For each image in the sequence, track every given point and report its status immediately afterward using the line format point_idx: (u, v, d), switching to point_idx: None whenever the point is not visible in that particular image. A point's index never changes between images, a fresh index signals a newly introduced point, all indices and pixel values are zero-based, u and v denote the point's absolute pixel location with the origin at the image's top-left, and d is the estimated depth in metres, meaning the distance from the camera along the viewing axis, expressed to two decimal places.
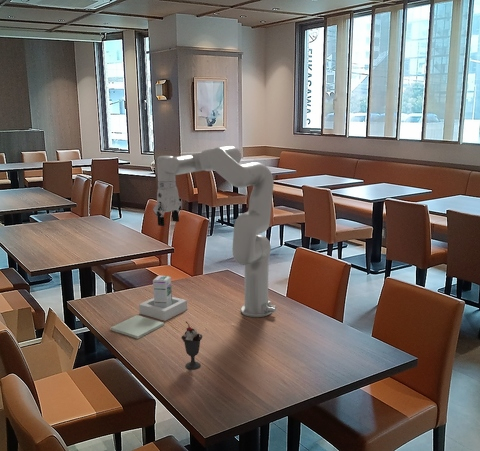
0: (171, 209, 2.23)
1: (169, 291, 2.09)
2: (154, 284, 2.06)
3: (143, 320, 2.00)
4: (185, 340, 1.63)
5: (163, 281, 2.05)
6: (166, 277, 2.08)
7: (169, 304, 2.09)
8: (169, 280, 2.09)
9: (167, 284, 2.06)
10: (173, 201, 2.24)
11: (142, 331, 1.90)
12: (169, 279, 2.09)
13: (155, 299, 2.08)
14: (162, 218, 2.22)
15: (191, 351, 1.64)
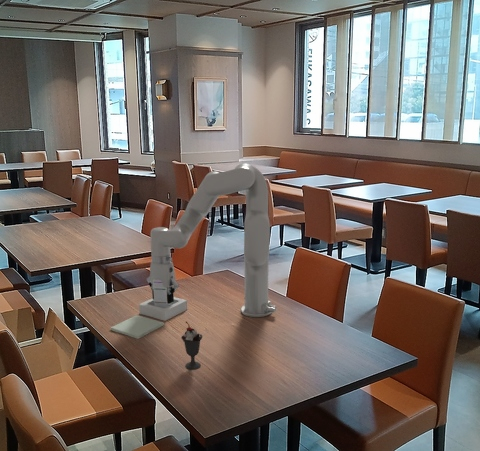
0: None
1: None
2: (154, 284, 2.06)
3: (143, 320, 2.00)
4: (185, 340, 1.63)
5: None
6: None
7: (169, 304, 2.09)
8: None
9: None
10: None
11: (142, 331, 1.90)
12: None
13: (155, 299, 2.08)
14: (172, 293, 2.08)
15: (191, 351, 1.64)
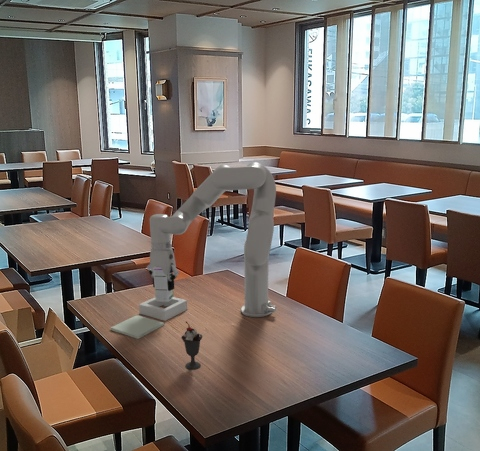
0: None
1: None
2: (154, 271, 2.05)
3: (143, 320, 2.00)
4: (185, 340, 1.63)
5: None
6: None
7: (170, 291, 2.08)
8: None
9: None
10: None
11: (142, 331, 1.90)
12: None
13: (156, 286, 2.06)
14: None
15: (191, 351, 1.64)
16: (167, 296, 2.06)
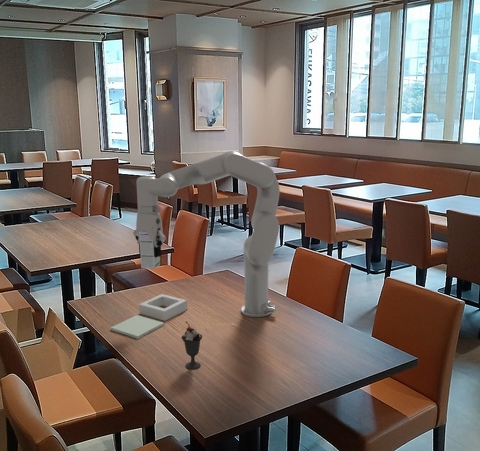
0: None
1: None
2: (140, 236, 1.95)
3: (143, 320, 2.00)
4: (185, 340, 1.63)
5: None
6: None
7: (156, 258, 1.98)
8: None
9: None
10: None
11: (142, 331, 1.90)
12: None
13: (141, 252, 1.97)
14: None
15: (191, 351, 1.64)
16: (153, 263, 1.97)
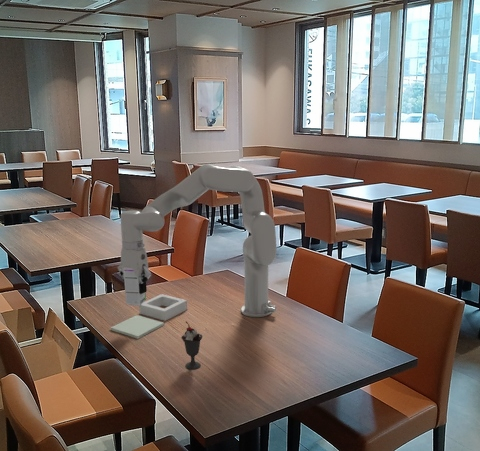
0: None
1: None
2: (125, 272, 1.89)
3: (143, 320, 2.00)
4: (185, 340, 1.63)
5: None
6: None
7: (142, 294, 1.92)
8: None
9: None
10: None
11: (142, 331, 1.90)
12: None
13: (126, 289, 1.90)
14: None
15: (191, 351, 1.64)
16: (138, 299, 1.90)
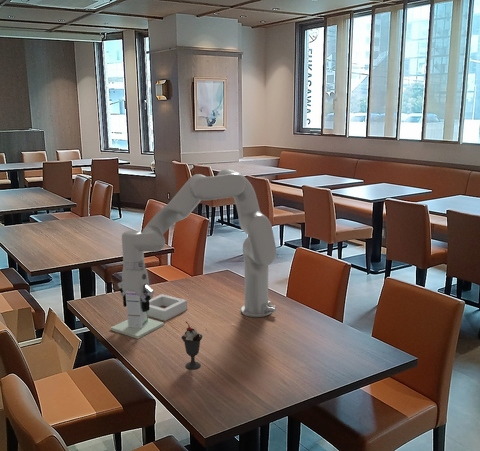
0: None
1: None
2: (127, 296, 1.91)
3: None
4: (185, 340, 1.63)
5: None
6: None
7: (143, 317, 1.94)
8: None
9: None
10: None
11: (142, 331, 1.90)
12: None
13: (128, 312, 1.93)
14: None
15: (191, 351, 1.64)
16: (140, 322, 1.93)
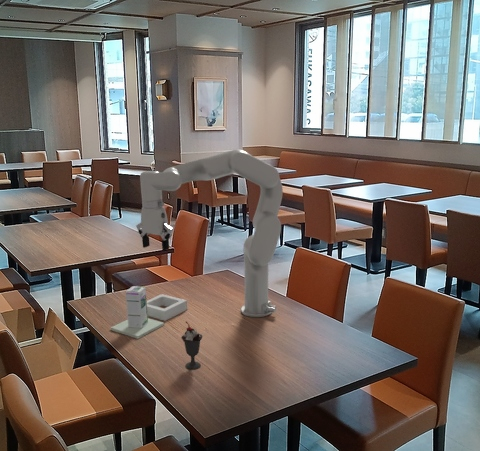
0: None
1: (144, 303, 1.94)
2: (127, 296, 1.91)
3: None
4: (185, 340, 1.63)
5: (136, 292, 1.90)
6: (141, 288, 1.93)
7: (143, 317, 1.94)
8: (143, 291, 1.94)
9: (141, 296, 1.91)
10: None
11: (142, 331, 1.90)
12: (143, 290, 1.94)
13: (128, 312, 1.93)
14: None
15: (191, 351, 1.64)
16: (140, 322, 1.93)
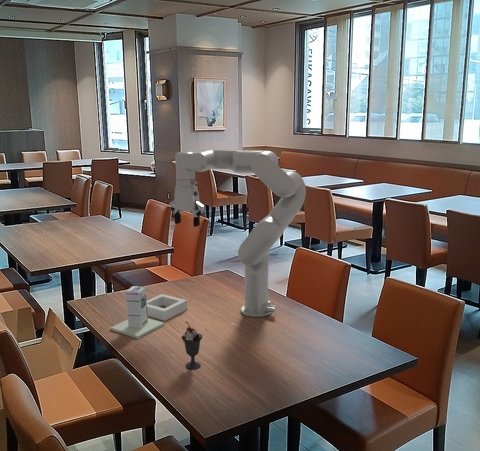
0: None
1: (144, 303, 1.94)
2: (127, 296, 1.91)
3: None
4: (185, 340, 1.63)
5: (136, 292, 1.90)
6: (141, 288, 1.93)
7: (143, 317, 1.94)
8: (143, 291, 1.94)
9: (141, 296, 1.91)
10: None
11: (142, 331, 1.90)
12: (143, 290, 1.94)
13: (128, 312, 1.93)
14: None
15: (191, 351, 1.64)
16: (140, 322, 1.93)
